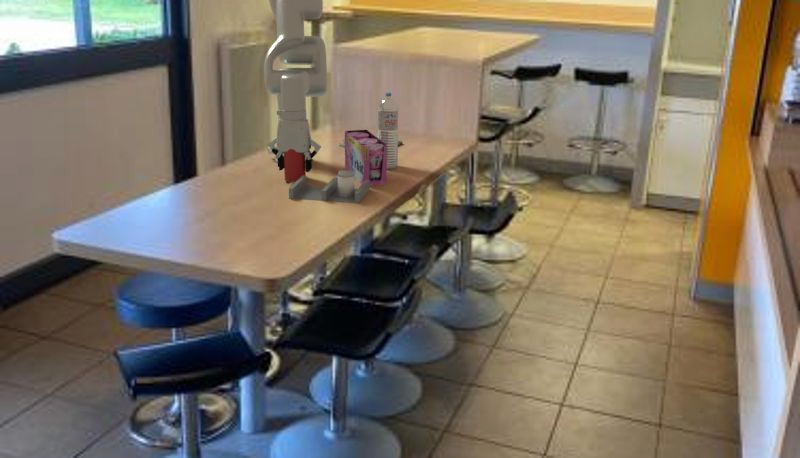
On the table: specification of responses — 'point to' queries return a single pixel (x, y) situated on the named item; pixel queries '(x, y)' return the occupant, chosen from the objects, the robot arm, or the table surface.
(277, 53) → the robot arm
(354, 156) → the gum box
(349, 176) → the shaker
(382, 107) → the water bottle
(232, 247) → the table surface
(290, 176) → the beer can
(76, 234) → the table surface
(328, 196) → the organizer
